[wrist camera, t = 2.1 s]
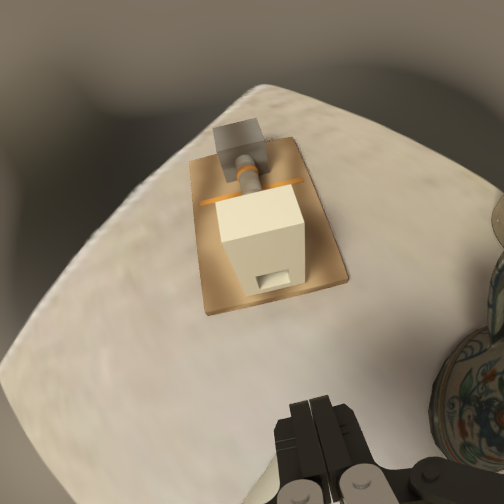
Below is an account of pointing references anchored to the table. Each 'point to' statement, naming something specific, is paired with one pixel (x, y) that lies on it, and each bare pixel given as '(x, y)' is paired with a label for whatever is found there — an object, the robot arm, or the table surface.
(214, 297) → the pipe stand
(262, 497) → the tube
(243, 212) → the sleeve
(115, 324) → the table surface
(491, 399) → the beer stein
